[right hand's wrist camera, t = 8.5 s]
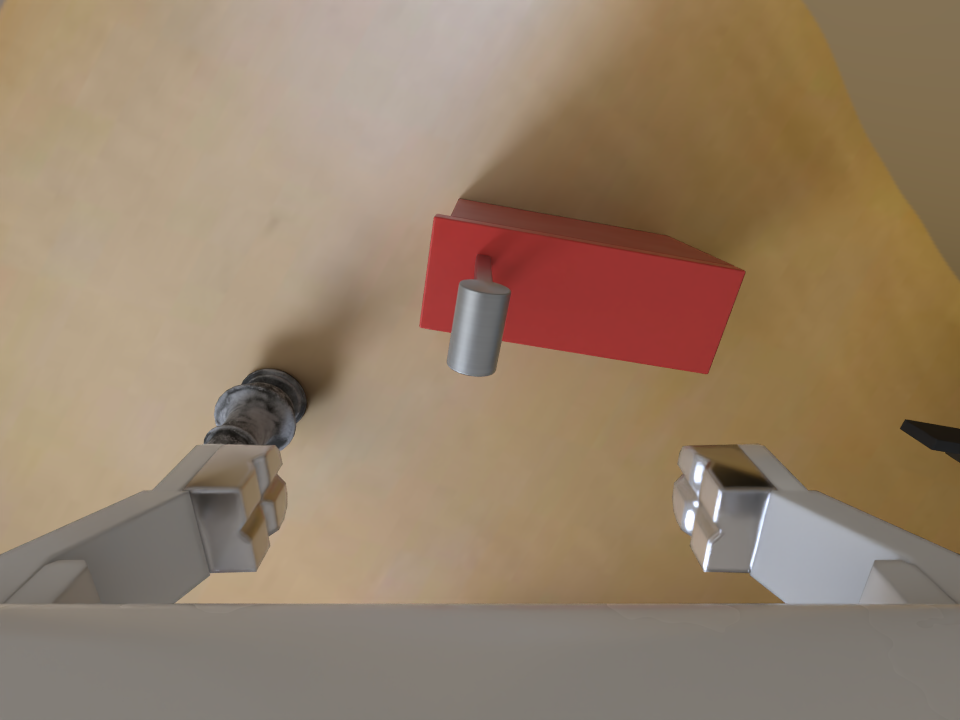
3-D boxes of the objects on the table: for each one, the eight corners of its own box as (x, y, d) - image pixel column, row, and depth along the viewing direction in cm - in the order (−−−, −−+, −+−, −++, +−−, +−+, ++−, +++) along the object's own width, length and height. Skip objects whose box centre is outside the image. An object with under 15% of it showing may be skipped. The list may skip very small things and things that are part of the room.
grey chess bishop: (247, 353, 39) (155, 432, 28) (320, 383, 40) (259, 471, 29) (227, 414, 41) (134, 511, 30) (297, 441, 42) (232, 545, 31)
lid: (421, 321, 28) (395, 395, 19) (435, 213, 26) (413, 243, 17) (699, 366, 29) (791, 456, 20) (736, 266, 26) (855, 319, 18)
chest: (446, 278, 37) (434, 323, 28) (458, 198, 35) (450, 215, 26) (644, 312, 38) (699, 366, 29) (667, 235, 36) (735, 266, 27)
